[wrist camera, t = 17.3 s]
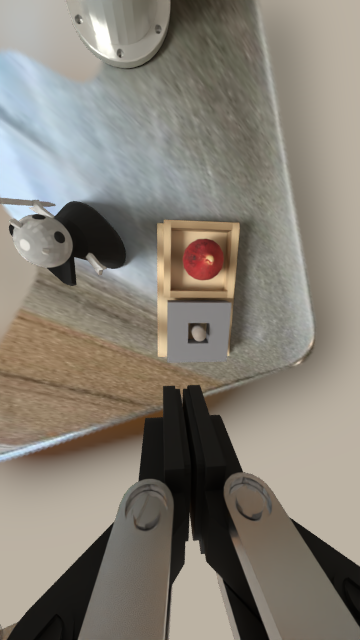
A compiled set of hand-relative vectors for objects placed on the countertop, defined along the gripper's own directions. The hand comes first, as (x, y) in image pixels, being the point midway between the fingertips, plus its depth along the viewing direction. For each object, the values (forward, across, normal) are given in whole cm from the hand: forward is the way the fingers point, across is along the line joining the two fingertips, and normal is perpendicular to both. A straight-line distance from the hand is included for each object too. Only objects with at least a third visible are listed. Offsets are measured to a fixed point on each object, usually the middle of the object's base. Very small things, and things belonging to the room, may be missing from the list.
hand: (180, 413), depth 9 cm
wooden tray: (+27, -5, -2) cm, 28 cm away
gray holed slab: (+25, -5, +3) cm, 26 cm away
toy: (+27, +12, -10) cm, 31 cm away
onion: (+26, -5, -8) cm, 28 cm away
